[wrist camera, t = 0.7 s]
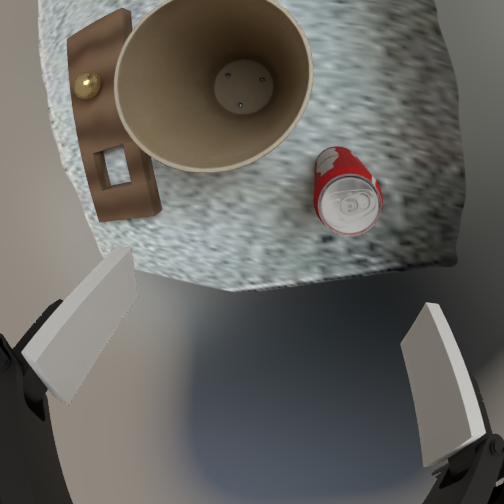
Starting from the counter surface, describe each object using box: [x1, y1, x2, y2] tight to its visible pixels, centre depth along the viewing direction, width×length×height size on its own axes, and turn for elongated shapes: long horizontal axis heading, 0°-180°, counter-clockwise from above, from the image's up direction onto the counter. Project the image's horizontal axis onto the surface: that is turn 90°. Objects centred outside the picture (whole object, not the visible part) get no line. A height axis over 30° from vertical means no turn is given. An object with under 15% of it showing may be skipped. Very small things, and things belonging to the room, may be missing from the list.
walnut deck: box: [67, 8, 162, 222], centre depth 32 cm, size 32×11×2 cm, turn 7°
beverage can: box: [313, 146, 383, 236], centre depth 26 cm, size 6×6×15 cm
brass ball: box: [74, 72, 101, 99], centre depth 26 cm, size 4×4×4 cm
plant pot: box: [114, 0, 313, 173], centre depth 22 cm, size 15×15×16 cm
